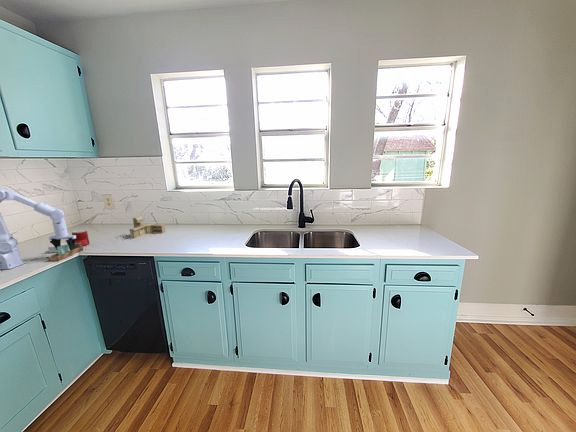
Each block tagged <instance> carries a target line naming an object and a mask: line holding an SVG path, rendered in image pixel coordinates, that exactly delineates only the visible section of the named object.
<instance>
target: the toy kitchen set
mask: <svg viewBox="0 0 576 432" xmlns="http://www.w3.org/2000/svg"><path fill="white" fill-rule="evenodd" d="M142 222H145V220H144V218H143V217H142V216H141V215H137V216H134V217H132V223H133V227H132V228H129V229H128V230H129V235H130V238H131V239H137V238H139V237H142V236H145V235H149V234H164V233H166V225H165V223H153V222H152V223H144V224H142Z"/></svg>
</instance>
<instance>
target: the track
mask: <svg viewBox="0 0 576 432" xmlns="http://www.w3.org/2000/svg"><path fill="white" fill-rule="evenodd" d="M83 251H84V247H82V243H75V244H74V249H73V250H71V251H69V252H66V253H64V254H62V255H59V254H58V252H56V253H54V254H52V255H49V256H48V257H47V260H48V262H50V263H51V262H60V261H63V260H65V259H67V258H69V257H71V256H74V255H76V254H78V253H81V252H83Z"/></svg>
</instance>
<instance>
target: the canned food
mask: <svg viewBox="0 0 576 432" xmlns="http://www.w3.org/2000/svg"><path fill="white" fill-rule="evenodd" d="M71 235H76V241H75V243H82V247H83V248H84V247H87V245H88V246H89V245H90V239H89V234H88V230H87V229H86V228H82V229H80V228H79V229H75V230H73V231H71Z"/></svg>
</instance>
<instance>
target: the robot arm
mask: <svg viewBox="0 0 576 432" xmlns="http://www.w3.org/2000/svg"><path fill="white" fill-rule="evenodd" d="M3 201H16V202H19V203H21V204H24V205H25V206H29V207H31V208H33V210H34V211H35V212H38V213H39V214H42V215H44V216H47V217H49V218H50V219H51V221H52V226H53V230H54V235H51V236H48V240H49V243H50V244H51V245H54V246H55V248H56V249H57V247H59V246H61V244H62V243H61V242H62V240H65V241H64V242H65V243H67V244H68V246H69V249H70V250H73V249H74V244H75V241H76V235H72V234H69V232H68V227H67V223H66V219H65V217H64V216H65V213H64V210H62V209H60V208H57V207H53V206H51V205H49V204H48V203H47V202H41V201H40V202H37V201H35V200H33V199H30V198H29V197H26V196H25V195H22V194H20V193H18V192H16V191H14V190H11V189H8V188H6V187H0V204H1V202H3ZM18 243H19V242H18V240H17V239H16V238H14V236H13V235H12V234H11V233H10V230H9V229H8V227H7V225H6V222H5V220H4V218H3V216H2V213H1V212H0V270H11V269H14V268H17V267H19V266H22V265H24V264H26V263H28V261H23V259H22V256H21V253H20V249H19V247H17V246H18ZM57 251H58V250H57Z"/></svg>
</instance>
